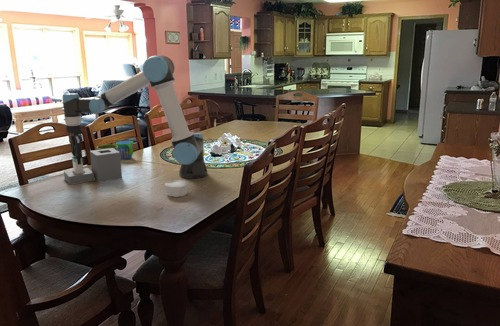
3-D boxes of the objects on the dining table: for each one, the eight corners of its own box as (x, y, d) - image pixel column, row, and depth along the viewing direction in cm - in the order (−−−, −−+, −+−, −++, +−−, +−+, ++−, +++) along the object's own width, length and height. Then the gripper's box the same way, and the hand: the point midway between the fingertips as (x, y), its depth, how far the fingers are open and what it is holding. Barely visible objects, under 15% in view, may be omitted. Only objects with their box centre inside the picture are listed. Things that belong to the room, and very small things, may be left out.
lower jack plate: (94, 180, 210) (93, 172, 209) (70, 184, 203) (69, 176, 202) (88, 174, 219) (87, 167, 218) (64, 178, 212) (63, 171, 211)
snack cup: (112, 156, 257) (111, 141, 254) (128, 154, 263) (127, 139, 261) (122, 161, 245) (121, 145, 242) (138, 159, 252) (137, 143, 249)
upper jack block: (122, 177, 214) (119, 152, 210) (98, 181, 207) (96, 155, 203) (114, 172, 223) (112, 147, 220) (92, 176, 217) (89, 150, 213)
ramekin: (178, 188, 198) (177, 178, 197) (194, 193, 192) (193, 182, 190) (160, 194, 190) (159, 183, 189) (175, 199, 183) (175, 188, 182)
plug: (84, 177, 210) (82, 157, 207) (76, 179, 208) (73, 158, 205) (82, 175, 213) (80, 155, 210) (74, 177, 211) (72, 156, 208)
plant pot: (97, 168, 231) (95, 149, 228) (98, 163, 242) (97, 144, 239) (118, 167, 234) (117, 148, 231) (119, 162, 245) (118, 143, 242)
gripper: (61, 122, 208) (66, 166, 214) (69, 127, 195) (74, 174, 201) (77, 121, 212) (81, 164, 218) (85, 126, 199) (90, 171, 205)
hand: (78, 169), depth 210 cm, fingers closed on plug, 4 cm apart
